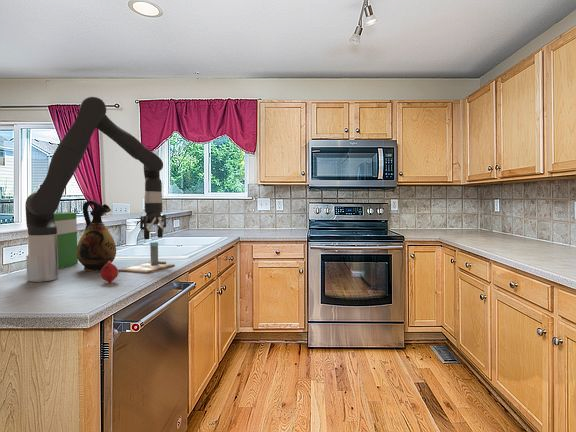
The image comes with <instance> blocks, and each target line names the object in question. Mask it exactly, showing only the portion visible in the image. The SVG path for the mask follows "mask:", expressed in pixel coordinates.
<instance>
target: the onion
mask: <svg viewBox="0 0 576 432" xmlns="http://www.w3.org/2000/svg"><path fill="white" fill-rule="evenodd" d="M118 269H119V268H118V267H117V266H116V265H115V264H113V263H111V261H109V262H108V263H107V264H106V265H105V266H104V267H103V268H102V269H101V271H100V278H101V279H102V280H103V281H104V282H107V283H108V284H111V283H113V281H115V280H116V279H117V277H118V276H119V271H118Z"/></svg>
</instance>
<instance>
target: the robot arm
mask: <svg viewBox="0 0 576 432" xmlns="http://www.w3.org/2000/svg"><path fill="white" fill-rule="evenodd" d="M106 113H107V106H106V104H105V102H104V100H102V98H101V97H100V98H99V97H98V96H89V97H86V98H84V99H83V100H82V102H81V104H79V107H78V113H77V116H76V118H75V120H74V122H73V124H72V125H71V127H70V128H69V129H68V131H67V132H66V133H65V134H64V135H63V138H62V139H61V140H60V142H59V144H58V145H57V147H56V149H55V151H54V153H53V155H52V157H51V159H50V161H49V162H50V163H49V165H48V169H47V173H46V176H45V179H44V180H43V182H42V183H41V185H40V186H39V188H38V189H37V190H36V192H33V193H31V194H30V195H29V196H28V197H27V198H26V199H25V221H26V222H25V223H26V229H27V235H28V237H27V238H28V239H27V241H28V254H27V255H26V256H25V258H26V281H27V282H35V283H40V282H47V281H48V282H49V281H54V280H57V279H59V269H58V248H57V227H56V225H55V221H54V213H56V211H57V210H58V207H59V206H60V202H61V200H62V197H63V194H64V192H65V190H66V188H67V185H68V183H69V182H70V180H71V179H72V177H73V176H74V174H75V172H76V171H77V169H78V167H79V165H80V163H81V162H82V160H83V158H84V156H85V153H86V151H87V149H88V146H89V144H90V141H91V138H92V135H93V134H94V131H95V130H96V129H97V130H98V131H100V132H101V133H103V134H104V135H105V136H107V137H108V138H109V139H111V140H112V141H113V142H114V143H116V144H117V145H118V146H119V147H120V148H121V149H123V150H124V151H125V153H127V154H128V155H129V156H130V157H132V158H133V159H135V160H137V161H139V162H140V163H141V164H142V165H143V175H144V182H145V183H144V196H143V197H144V213H145V214H146V215H143V214H142V215H140V219H139V222H140V223H139V229H140V230H142V231H143V238H144V240H150V233H151V232H150V229H151V227H153V226H156V229H157V238H161V239H162V238H163V235H164V229H165V228H166V227H167V216H166V214H161V213H163V189H162V188H163V186H162V179H161V178H160V177H161V175H160V172H161V170H163V169H164V163H163V161H162V159H161V158H160V156H159V155H157V154H156V153H154V151H151V150H150V149H149V148H147V146H145V145H144V144H143V143H142V142H141V141H140V140H139V139H138V138H136V137H135V136H134V135H132V134H131V133H130V132H128V131H126V130H125V129H123V128H121V127H120V126H118V125H117V124H116V123H114V122H113V121H112V120H111V119H110V117H108V116H107V114H106Z"/></svg>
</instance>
